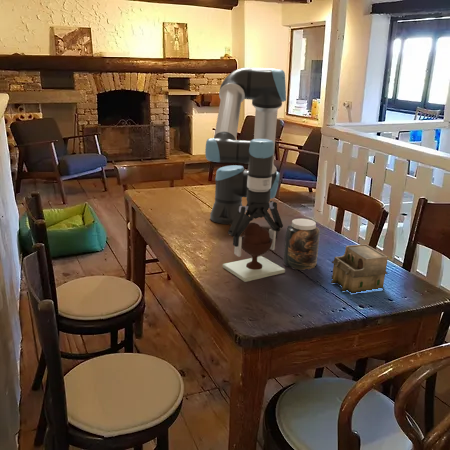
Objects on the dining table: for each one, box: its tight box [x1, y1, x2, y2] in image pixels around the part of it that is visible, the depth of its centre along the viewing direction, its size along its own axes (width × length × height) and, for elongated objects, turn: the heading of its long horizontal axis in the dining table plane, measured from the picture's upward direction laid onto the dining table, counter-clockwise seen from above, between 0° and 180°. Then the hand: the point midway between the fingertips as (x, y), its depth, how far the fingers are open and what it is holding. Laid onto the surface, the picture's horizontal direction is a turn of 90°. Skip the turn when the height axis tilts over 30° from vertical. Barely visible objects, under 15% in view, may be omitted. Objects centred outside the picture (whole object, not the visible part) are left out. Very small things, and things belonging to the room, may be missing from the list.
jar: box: [283, 218, 321, 271], centre depth 169 cm, size 12×12×15 cm
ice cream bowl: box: [240, 222, 273, 270], centre depth 162 cm, size 11×11×15 cm
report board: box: [222, 255, 286, 283], centre depth 164 cm, size 16×13×1 cm
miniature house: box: [330, 243, 389, 293], centre depth 156 cm, size 15×14×11 cm
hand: (254, 251), depth 162 cm, fingers open, 13 cm apart
